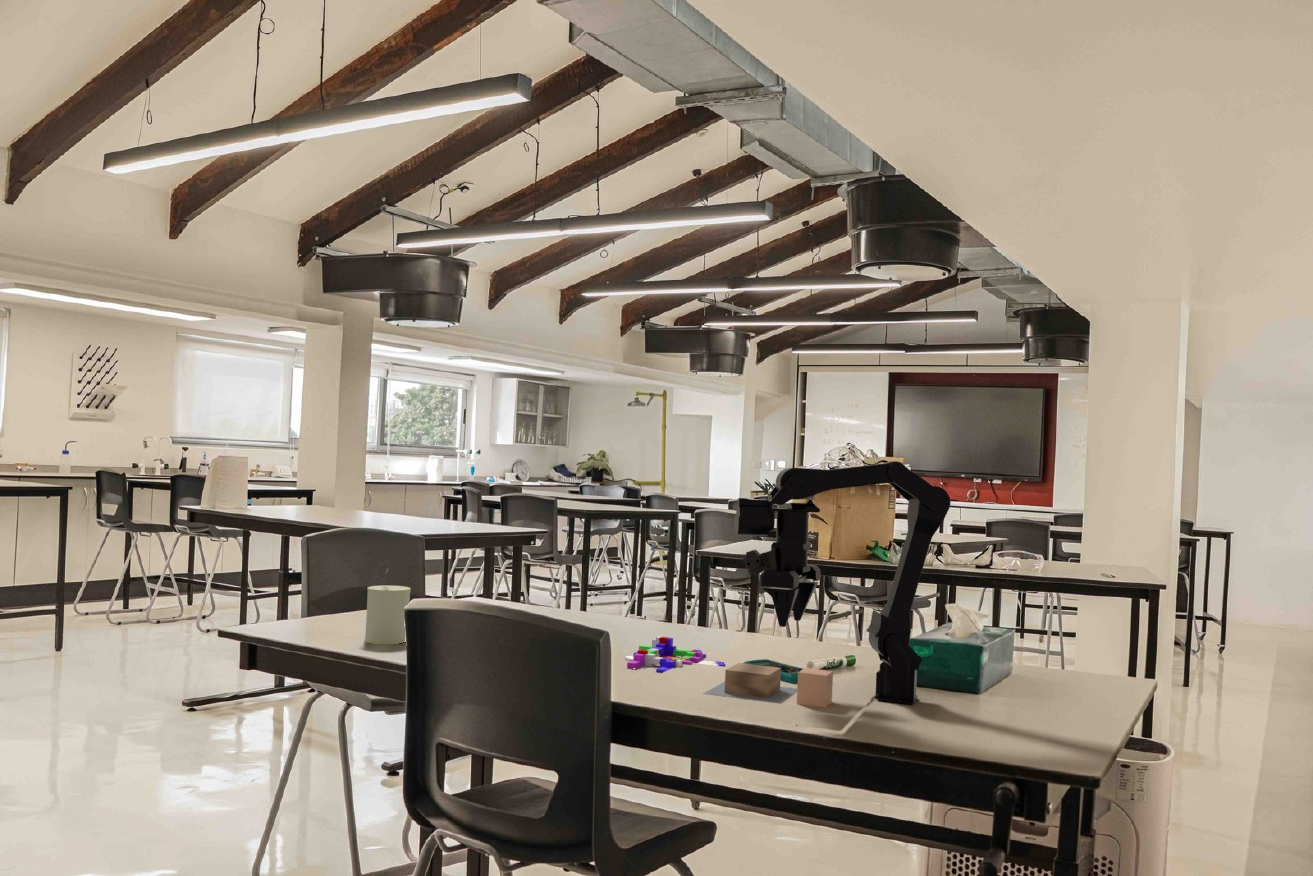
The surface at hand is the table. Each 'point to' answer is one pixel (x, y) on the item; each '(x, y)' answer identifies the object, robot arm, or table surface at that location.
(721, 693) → the grey flat square plate
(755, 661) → the digital multimeter
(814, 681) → the terracotta cube
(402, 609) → the can
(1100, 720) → the table surface
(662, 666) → the building block set
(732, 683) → the walnut base block
